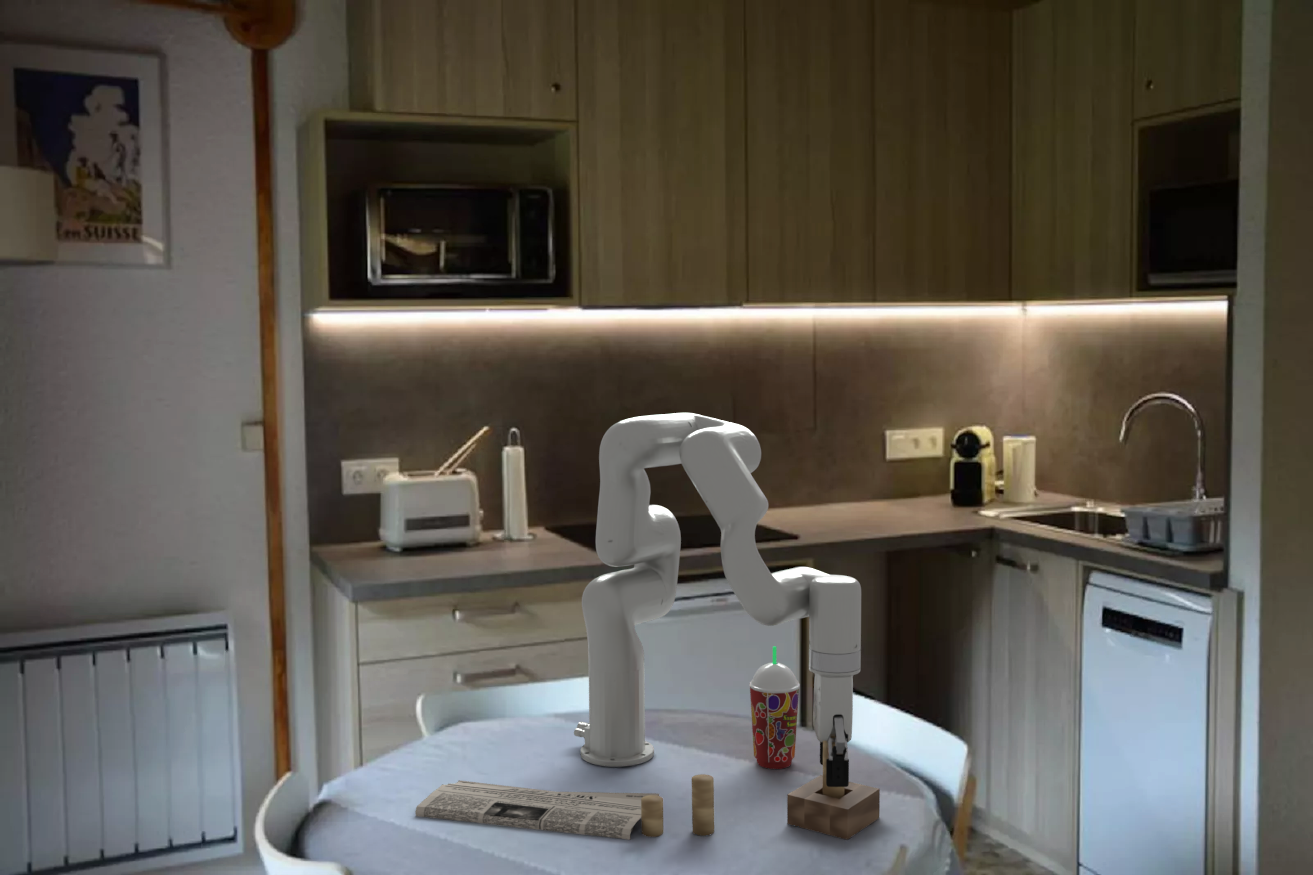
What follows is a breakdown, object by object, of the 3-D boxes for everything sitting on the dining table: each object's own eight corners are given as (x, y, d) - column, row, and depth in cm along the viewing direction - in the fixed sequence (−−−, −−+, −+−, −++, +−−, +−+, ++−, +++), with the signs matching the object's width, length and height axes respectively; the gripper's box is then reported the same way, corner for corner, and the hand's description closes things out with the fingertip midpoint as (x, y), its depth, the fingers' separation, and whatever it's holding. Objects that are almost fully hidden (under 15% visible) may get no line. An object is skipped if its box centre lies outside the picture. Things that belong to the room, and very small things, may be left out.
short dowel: (636, 833, 189) (636, 799, 189) (651, 826, 192) (651, 793, 191) (653, 838, 187) (653, 805, 187) (667, 832, 190) (667, 798, 189)
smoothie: (796, 774, 213) (797, 654, 211) (746, 770, 215) (746, 652, 213) (801, 757, 221) (801, 641, 219) (752, 754, 223) (752, 639, 221)
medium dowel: (688, 832, 189) (687, 780, 188) (699, 825, 192) (698, 772, 191) (707, 837, 188) (706, 784, 187) (718, 829, 190) (717, 777, 189)
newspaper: (415, 819, 196) (414, 796, 196) (450, 790, 208) (450, 769, 208) (639, 844, 187) (638, 820, 186) (662, 812, 198) (662, 789, 198)
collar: (787, 824, 192) (787, 794, 192) (820, 803, 200) (820, 775, 200) (847, 839, 186) (847, 809, 186) (879, 818, 194) (879, 788, 194)
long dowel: (818, 822, 193) (819, 730, 192) (829, 815, 196) (829, 724, 194) (837, 826, 191) (838, 734, 190) (848, 820, 194) (848, 728, 192)
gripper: (803, 645, 200) (803, 755, 201) (814, 676, 182) (814, 796, 184) (852, 645, 200) (852, 755, 201) (868, 676, 182) (867, 797, 184)
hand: (833, 774), depth 193 cm, fingers open, 8 cm apart
